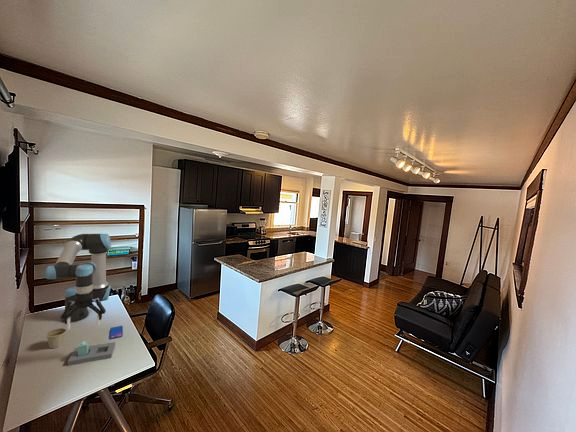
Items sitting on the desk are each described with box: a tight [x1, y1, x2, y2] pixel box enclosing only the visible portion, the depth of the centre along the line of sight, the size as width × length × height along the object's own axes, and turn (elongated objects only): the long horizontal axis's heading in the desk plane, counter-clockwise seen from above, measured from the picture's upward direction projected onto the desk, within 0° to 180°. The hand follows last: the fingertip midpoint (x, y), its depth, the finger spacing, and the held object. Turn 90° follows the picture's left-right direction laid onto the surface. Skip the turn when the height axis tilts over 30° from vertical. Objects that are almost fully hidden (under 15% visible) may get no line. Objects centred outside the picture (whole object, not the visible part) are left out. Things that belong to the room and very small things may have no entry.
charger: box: [77, 340, 90, 356], centre depth 142 cm, size 4×4×9 cm
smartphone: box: [109, 325, 124, 340], centre depth 168 cm, size 7×1×15 cm
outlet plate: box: [67, 341, 116, 366], centre depth 145 cm, size 12×20×2 cm, turn 116°
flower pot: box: [45, 327, 68, 349], centre depth 150 cm, size 9×9×9 cm
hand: (83, 326), depth 141 cm, fingers open, 13 cm apart
